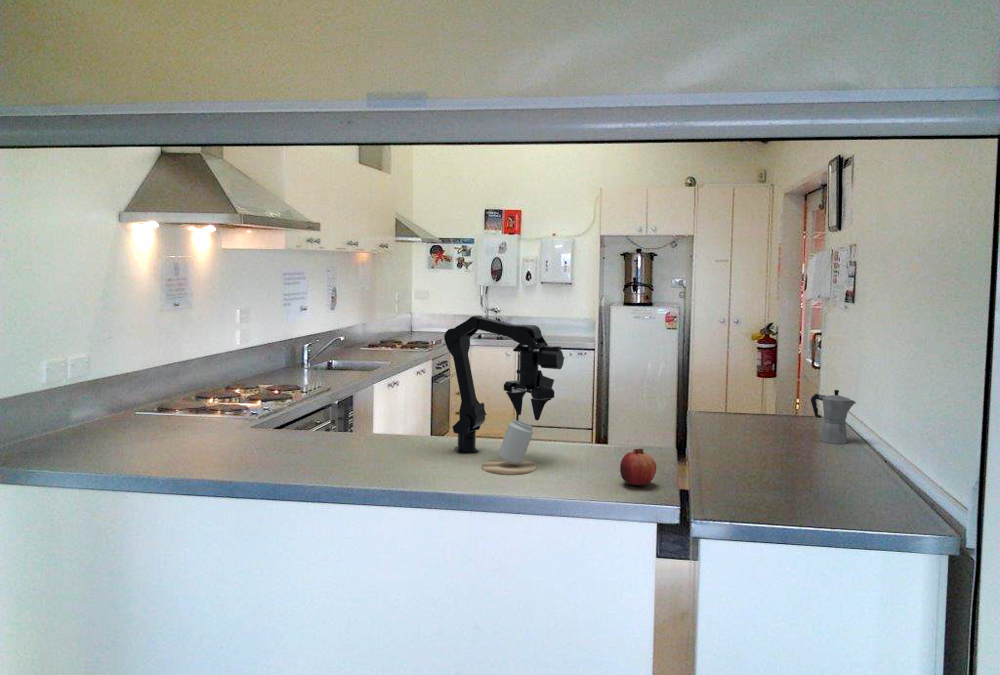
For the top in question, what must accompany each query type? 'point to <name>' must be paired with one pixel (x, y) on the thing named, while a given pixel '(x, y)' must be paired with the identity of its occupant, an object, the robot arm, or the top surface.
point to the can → (515, 442)
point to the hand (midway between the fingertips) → (528, 417)
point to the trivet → (508, 467)
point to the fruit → (637, 467)
